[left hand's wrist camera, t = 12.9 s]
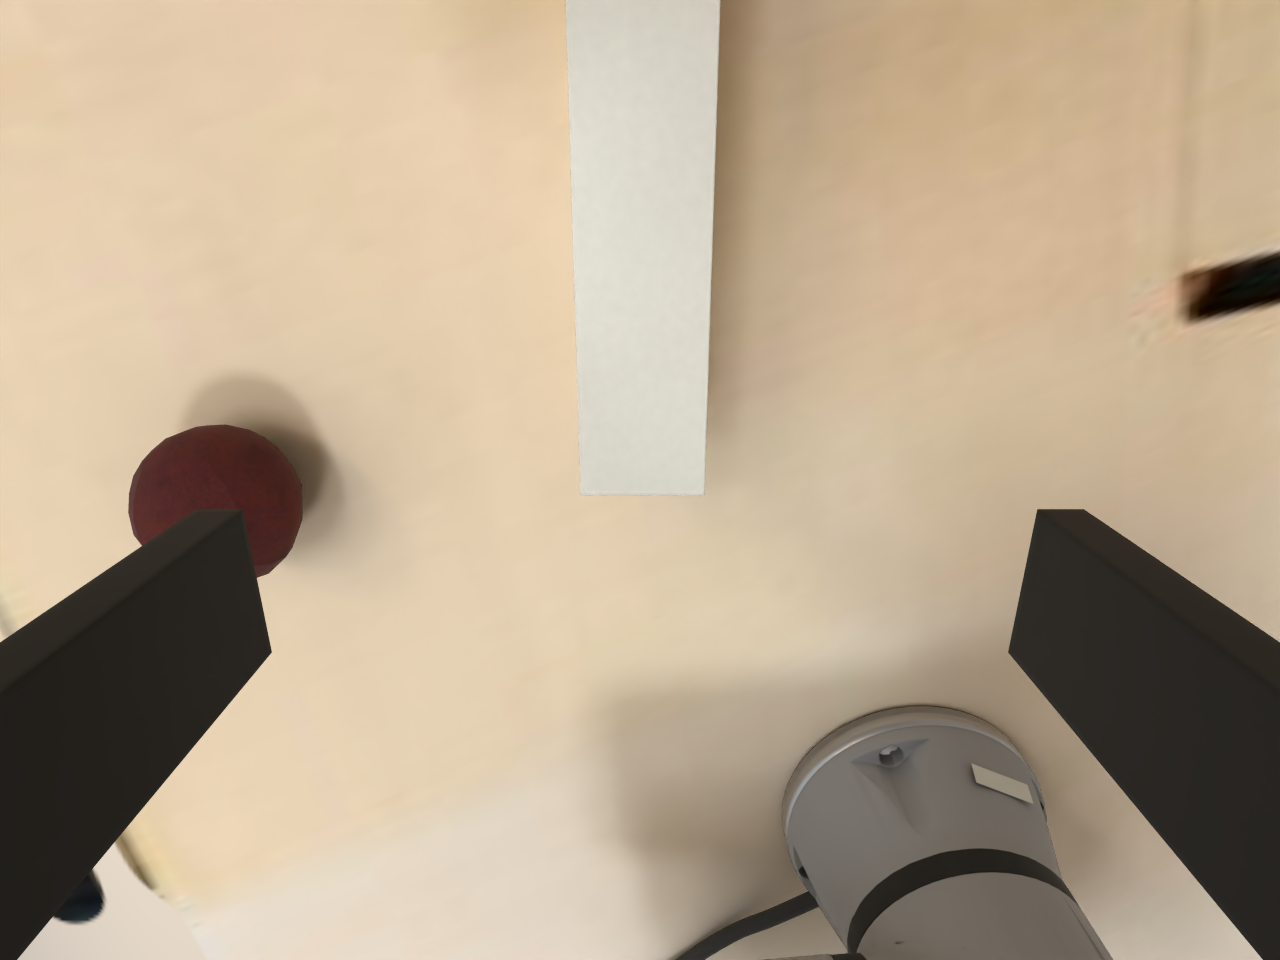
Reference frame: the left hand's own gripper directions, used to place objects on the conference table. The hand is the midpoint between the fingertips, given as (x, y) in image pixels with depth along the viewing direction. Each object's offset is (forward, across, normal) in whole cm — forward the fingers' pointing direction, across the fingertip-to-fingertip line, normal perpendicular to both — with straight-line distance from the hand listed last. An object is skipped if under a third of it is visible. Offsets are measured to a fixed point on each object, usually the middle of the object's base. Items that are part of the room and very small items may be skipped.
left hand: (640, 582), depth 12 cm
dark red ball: (+25, +20, +7) cm, 33 cm away
